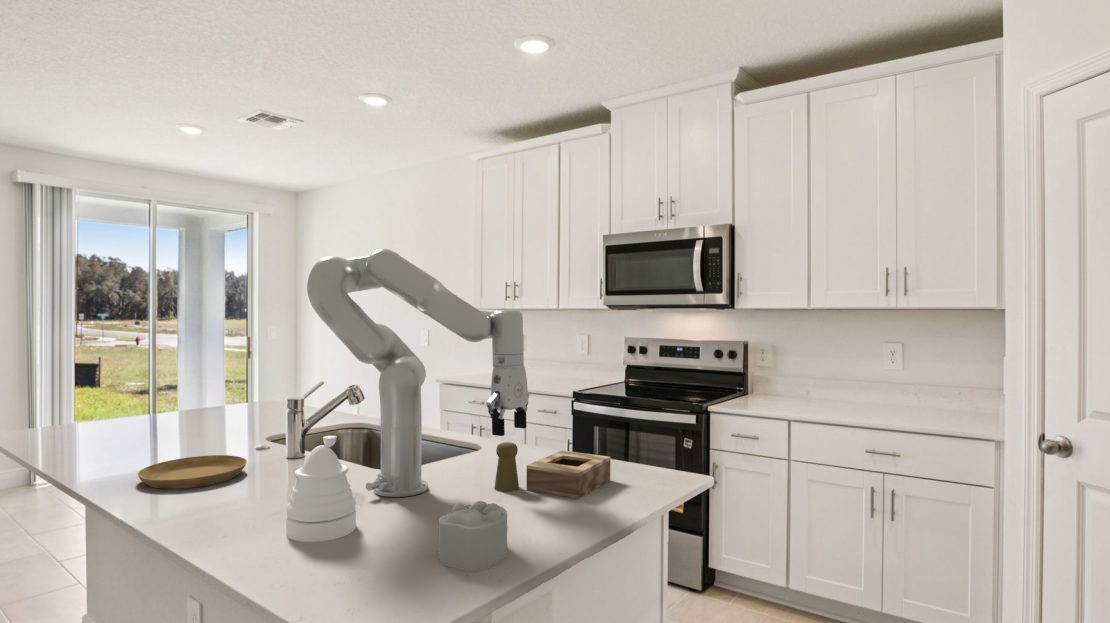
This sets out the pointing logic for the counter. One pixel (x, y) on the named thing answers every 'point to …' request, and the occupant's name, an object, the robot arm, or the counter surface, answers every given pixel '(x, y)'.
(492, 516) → the lumpy-topped squat cylinder
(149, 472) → the plant saucer
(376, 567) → the counter surface
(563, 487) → the drop box
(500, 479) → the cork
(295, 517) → the honey pot
